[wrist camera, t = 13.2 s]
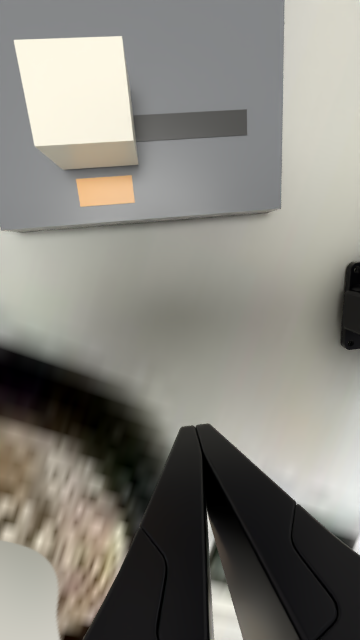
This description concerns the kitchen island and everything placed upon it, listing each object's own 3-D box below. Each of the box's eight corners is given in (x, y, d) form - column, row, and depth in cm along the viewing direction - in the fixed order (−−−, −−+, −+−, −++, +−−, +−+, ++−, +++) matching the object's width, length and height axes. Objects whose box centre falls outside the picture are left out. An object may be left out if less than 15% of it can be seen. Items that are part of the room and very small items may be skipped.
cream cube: (130, 87, 14) (121, 35, 10) (138, 164, 15) (133, 140, 11) (48, 91, 13) (13, 40, 10) (62, 169, 14) (34, 146, 11)
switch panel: (269, -245, 13) (290, -336, 11) (267, 212, 18) (281, 208, 16) (-94, -256, 12) (-145, -359, 10) (18, 232, 17) (0, 230, 15)
